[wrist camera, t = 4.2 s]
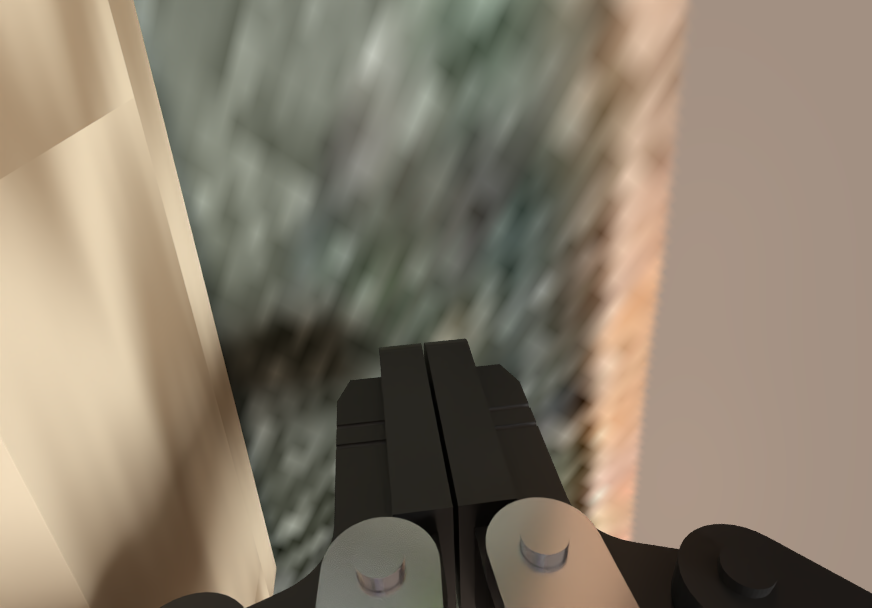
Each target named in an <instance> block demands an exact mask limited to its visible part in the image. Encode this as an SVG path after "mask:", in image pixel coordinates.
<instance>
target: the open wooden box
mask: <svg viewBox="0 0 872 608" xmlns="http://www.w3.org/2000/svg"><path fill="white" fill-rule="evenodd" d="M275 574H276V564H275V560H274V557H273V553H272V549H271V545H270V541H269V537H268V533H267V529H266V525H265V521H264V517H263V513H262V509H261V505H260V501H259V497H258V493H257V489H256V485H255V481H254V477H253V473H252V469H251V465H250V461H249V457H248V453H247V449H246V445H245V441H244V437H243V434H242V430H241V426H240V422H239V418H238V414H237V410H236V406H235V402H234V398H233V394H232V390H231V386H230V382H229V378H228V374H227V370H226V366H225V362H224V358H223V354H222V350H221V346H220V342H219V338H218V334H217V330H216V326H215V322H214V318H213V315H212V311H211V307H210V303H209V299H208V295H207V291H206V287H205V283H204V279H203V275H202V271H201V267H200V263H199V259H198V255H197V251H196V247H195V243H194V239H193V235H192V231H191V227H190V223H189V219H188V215H187V211H186V207H185V203H184V199H183V195H182V192H181V188H180V184H179V180H178V176H177V172H176V168H175V164H174V160H173V156H172V152H171V148H170V144H169V140H168V136H167V132H166V128H165V124H164V120H163V116H162V112H161V108H160V104H159V100H158V96H157V92H156V88H155V84H154V80H153V76H152V73H151V69H150V65H149V61H148V57H147V53H146V49H145V45H144V41H143V37H142V33H141V29H140V25H139V21H138V17H137V13H136V9H135V5H134V1H133V0H0V608H160V607H161V606H163V605H165V604H167V603H169V602H171V601H172V600H175V599H177V598H180V597H183V596H186V595H190V594H194V593H201V592H215V593H220V594H224V595H227V596H229V597H231V598H233V599H235V600H237V601H238V602H239V603H240V604H241V605H242V606H243V607H244V608H246V607H249V606H251V605H253V604H255V603H258V602H260V601H262V600H264V599H266V598H269V597H271V596H273V590H274V582H275Z"/></svg>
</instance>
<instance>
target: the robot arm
mask: <svg viewBox="0 0 872 608" xmlns="http://www.w3.org/2000/svg"><path fill="white" fill-rule="evenodd" d="M379 353H380V366H381V377H378V378H368V379H359V380H350V382H349V384H348V385H347V387H346V389H345V390H344V392H343V393H342V395H341V397H340V398H339V400H338V401H337V436H336V447H337V450H336V476H335V517H334V533H333V538H332V541H331V545H330V547H329V548H328V550H327V551H326V553H325V556H324V557H323V559H322V560H321V562H320V563H319V564H318V565H317V567H316V568H315V569H314V570H313V571H312V572H311V573H310V574H308V575H307V576H306V577H305V578H304V579H302V580H301V581H299V582H298V583H297V584H295V585H294V586H292V587H290V588H288V589H286V590H284V591H282V592H280V593H278V594H275V595H273V596H271V597H269V598H266V599H264V600H262V601H260V602H258V603H255V604H253V605H251V606H249V607H246V608H456V594H457V600H458V606H459V608H872V593H870V592H868V591H866V590H864V589H863V588H861V587H859V586H857V585H855V584H853V583H852V582H850V581H848V580H846V579H844V578H842V577H841V576H839V575H837V574H835V573H833V572H831V571H829V570H828V569H826V568H824V567H822V566H820V565H818V564H816V563H815V562H813V561H811V560H809V559H807V558H805V557H804V556H801V555H800V554H798V553H796V552H794V551H792V550H791V549H789V548H787V547H785V546H783V545H781V544H780V543H778V542H776V541H774V540H772V539H770V538H768V537H767V536H764V535H762V534H760V533H758V532H756V531H753V530H750V529H747V528H744V527H740V526H736V525H728V524H713V525H707V526H703V527H701V528H699V529H696V530H694V531H693V532H691V533H690V534H689V535H688V536H687V537H686V538H685V539H684V540H683V542H682V544H681V546H680V549H674V548H667V547H661V546H655V545H648V544H642V543H636V542H630V541H626V540H622V539H619V538H616V537H613V536H610V535H608V534H606V533H604V532H602V531H600V530H598V529H597V528H596V527H595V526H594V524H593V523H592V522H591V521H590V520H589V519H588V517H587V516H585V515H584V514H583V513H582V512H580V511H579V510H577V509H576V508H574V507H572V505H571V504H570V502H569V500H568V498H567V496H566V493H565V491H564V489H563V486H562V484H561V481H560V479H559V476H558V474H557V472H556V469H555V467H554V464H553V462H552V459H551V457H550V455H549V452H548V450H547V447H546V445H545V442H544V440H543V438H542V435H541V433H540V430H539V428H538V426H536V421H535V418H534V416H533V413H532V411H531V409H530V408H529V406H528V401H527V399H526V396H525V394H524V392H523V389H522V387H521V384H520V382H519V381H518V380H517V379H516V378H515V377H514V376H513V375H511V374H510V373H509V372H508V371H507V370H506V369H505V368H503V367H502V366H501V365H500V364H498V365H488V366H479V367H475V363H474V360H473V357H472V354H471V351H470V348H469V345H468V342H467V340H466V339H457V340H448V341H438V342H428V343H424V355H423V350H422V345H421V343H420V344H410V345H400V346H390V347H381V348H379ZM160 608H244V607H243V606H242V605H241V604H240V603H239V602H238V601H237V600H235V599H233V598H231V597H229V596H227V595H224V594H220V593H215V592H201V593H194V594H190V595H186V596H183V597H180V598H177V599H175V600H172V601H171V602H169V603H167V604H165V605H163V606H161V607H160Z"/></svg>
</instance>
